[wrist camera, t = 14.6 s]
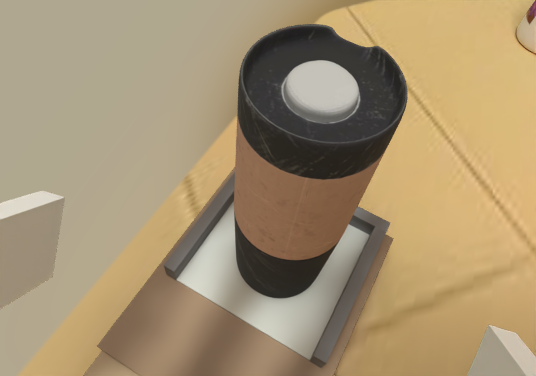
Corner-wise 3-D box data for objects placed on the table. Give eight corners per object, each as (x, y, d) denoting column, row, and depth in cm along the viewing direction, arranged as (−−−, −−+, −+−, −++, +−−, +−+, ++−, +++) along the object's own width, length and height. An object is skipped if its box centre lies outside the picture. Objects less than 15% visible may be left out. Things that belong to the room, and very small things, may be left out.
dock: (383, 252, 40) (401, 228, 35) (262, 521, 28) (268, 533, 24) (239, 177, 43) (240, 147, 39) (80, 390, 32) (56, 380, 27)
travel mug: (246, 313, 32) (264, 163, 15) (223, 227, 36) (218, 31, 19) (336, 289, 34) (443, 128, 17) (306, 209, 38) (368, 13, 21)
